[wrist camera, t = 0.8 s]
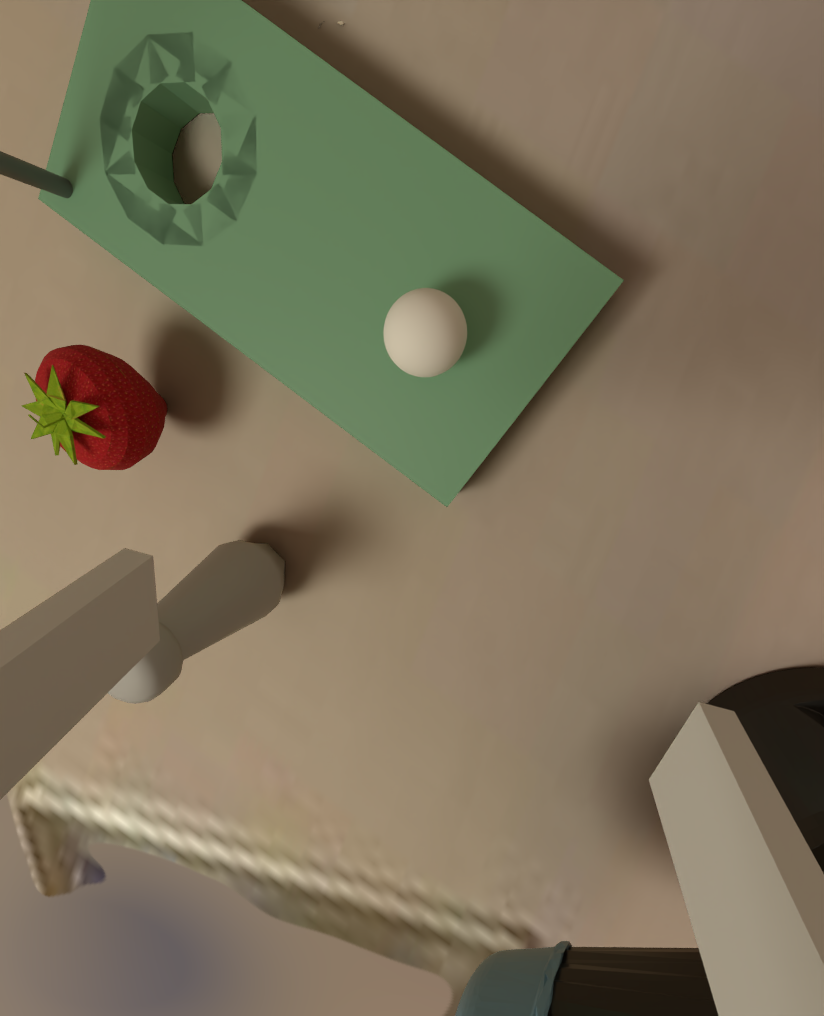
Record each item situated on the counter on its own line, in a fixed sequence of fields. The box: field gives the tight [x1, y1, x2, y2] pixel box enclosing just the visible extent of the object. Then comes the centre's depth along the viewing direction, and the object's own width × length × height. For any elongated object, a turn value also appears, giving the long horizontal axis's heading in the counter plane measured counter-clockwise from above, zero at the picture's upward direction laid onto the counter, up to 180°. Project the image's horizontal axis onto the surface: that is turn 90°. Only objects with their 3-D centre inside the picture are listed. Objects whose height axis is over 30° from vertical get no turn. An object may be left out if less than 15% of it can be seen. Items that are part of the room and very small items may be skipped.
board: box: [0, 0, 624, 507], centre depth 17 cm, size 30×14×21 cm, turn 55°
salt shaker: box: [108, 540, 285, 704], centre depth 28 cm, size 6×6×13 cm
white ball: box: [384, 288, 467, 377], centre depth 22 cm, size 4×4×4 cm
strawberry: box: [22, 345, 167, 470], centre depth 28 cm, size 6×8×10 cm
